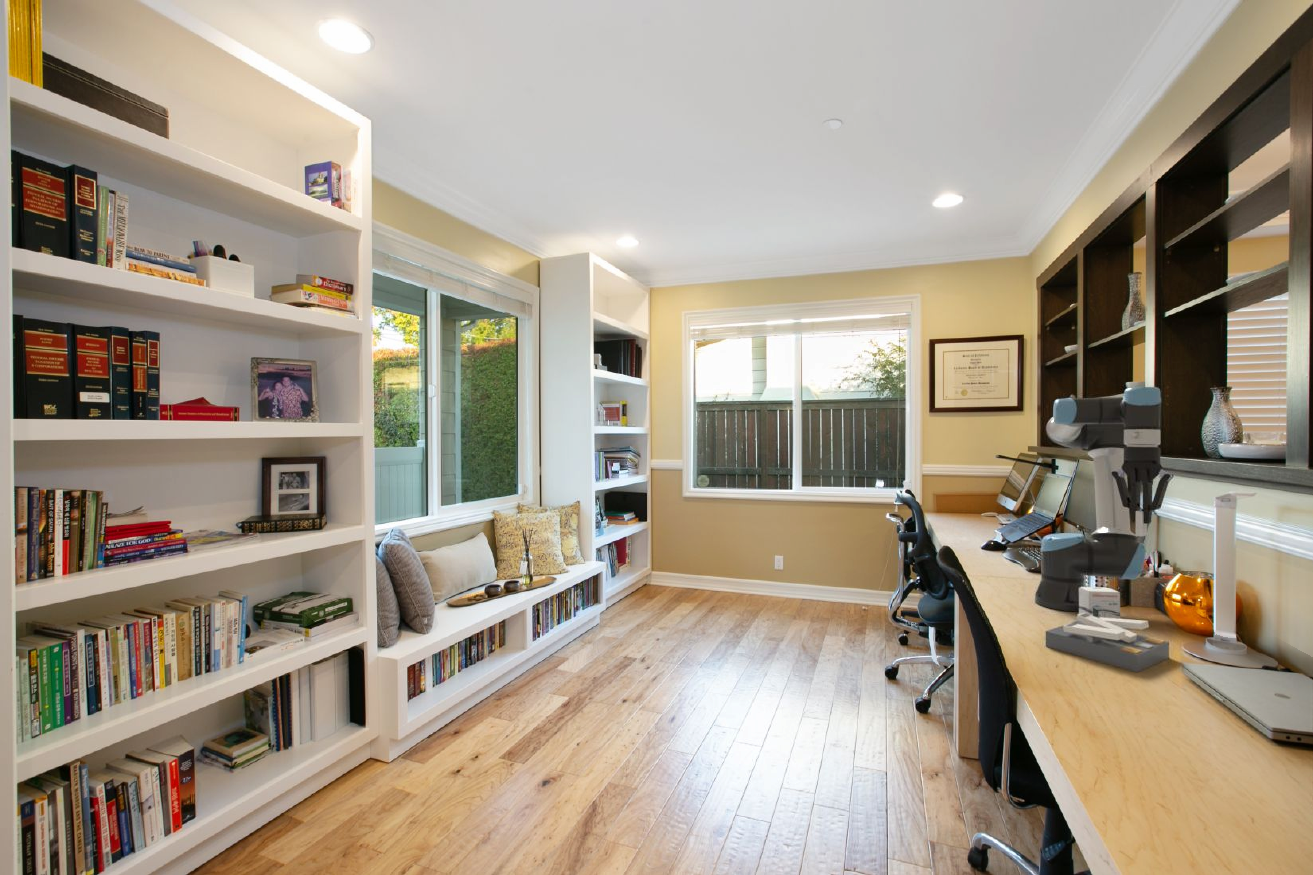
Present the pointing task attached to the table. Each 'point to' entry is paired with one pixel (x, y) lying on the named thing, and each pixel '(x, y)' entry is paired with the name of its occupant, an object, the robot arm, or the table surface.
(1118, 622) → the rocker
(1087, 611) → the ink box
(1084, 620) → the rocker
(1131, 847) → the table surface
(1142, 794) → the table surface
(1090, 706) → the table surface
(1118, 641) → the gray compartment tray
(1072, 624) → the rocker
